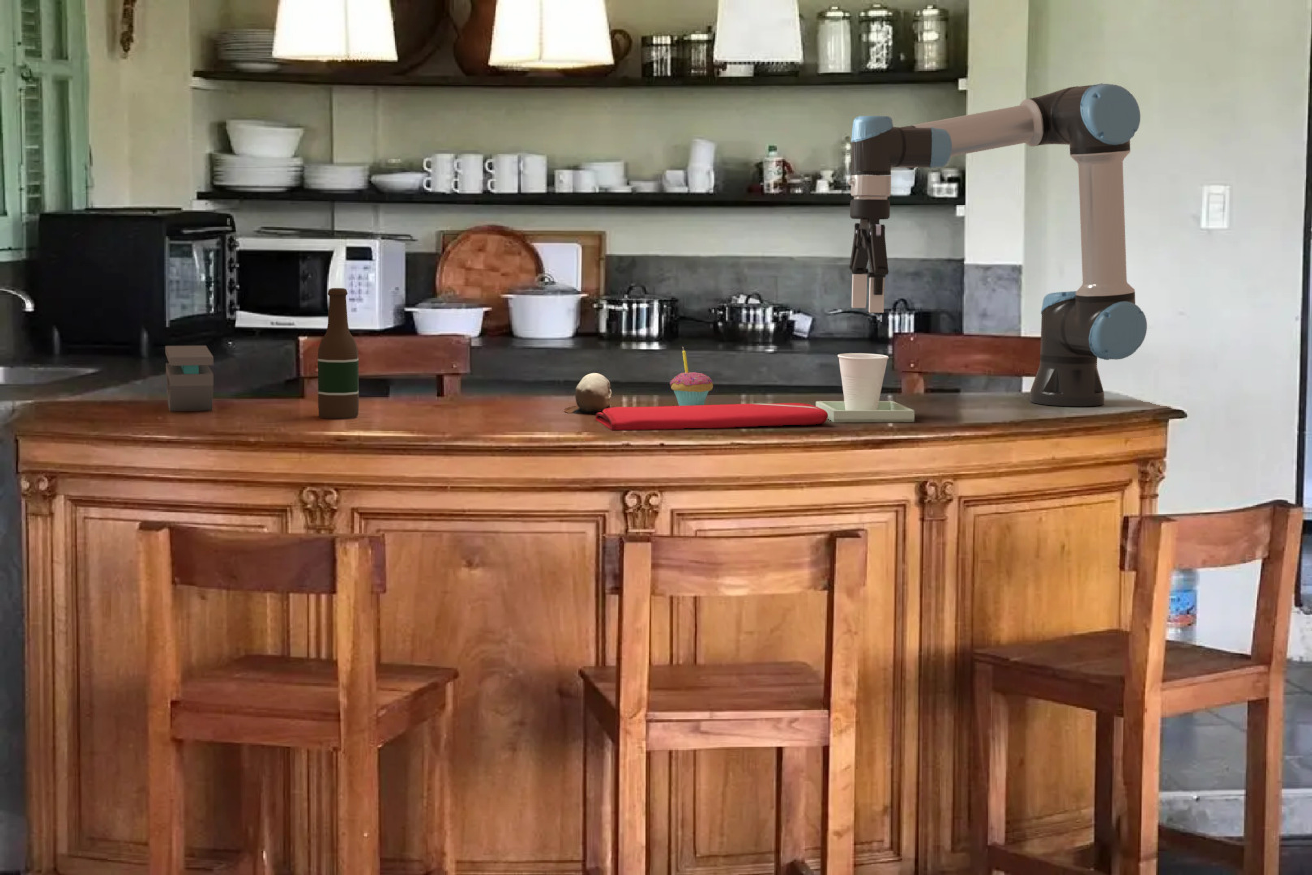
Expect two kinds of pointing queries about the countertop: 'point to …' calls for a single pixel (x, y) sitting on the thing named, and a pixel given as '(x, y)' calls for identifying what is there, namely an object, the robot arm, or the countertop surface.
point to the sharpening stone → (189, 378)
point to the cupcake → (691, 386)
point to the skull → (592, 395)
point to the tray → (867, 412)
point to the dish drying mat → (711, 416)
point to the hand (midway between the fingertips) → (867, 310)
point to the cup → (862, 379)
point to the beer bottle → (338, 363)
